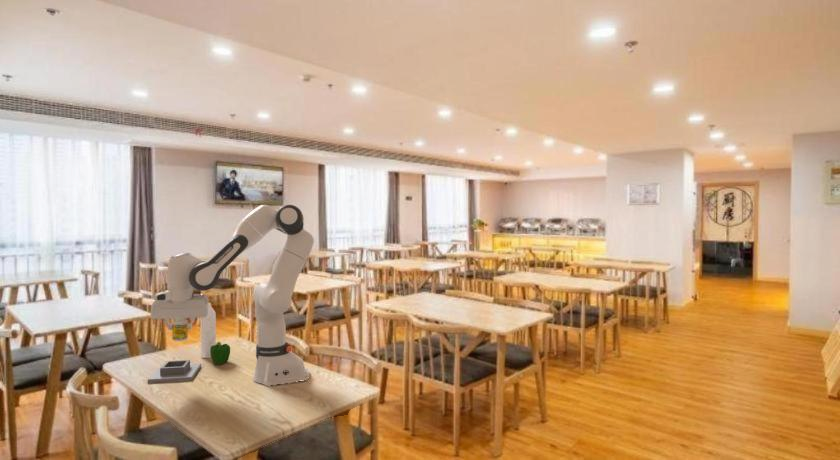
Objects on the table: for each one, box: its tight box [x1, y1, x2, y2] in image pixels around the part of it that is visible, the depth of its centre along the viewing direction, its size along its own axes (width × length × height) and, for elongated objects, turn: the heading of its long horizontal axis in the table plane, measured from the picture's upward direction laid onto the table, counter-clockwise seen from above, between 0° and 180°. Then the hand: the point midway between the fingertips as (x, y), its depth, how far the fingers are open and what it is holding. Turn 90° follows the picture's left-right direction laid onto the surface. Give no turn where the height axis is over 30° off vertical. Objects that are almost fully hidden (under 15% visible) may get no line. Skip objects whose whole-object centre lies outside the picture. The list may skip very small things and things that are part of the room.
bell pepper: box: [210, 341, 231, 366], centre depth 208 cm, size 8×8×10 cm
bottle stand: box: [147, 359, 202, 384], centre depth 194 cm, size 16×16×4 cm
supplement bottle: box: [171, 317, 189, 342], centre depth 184 cm, size 5×5×10 cm
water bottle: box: [200, 302, 217, 359], centre depth 216 cm, size 9×6×25 cm
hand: (180, 329), depth 184 cm, fingers closed on supplement bottle, 5 cm apart
